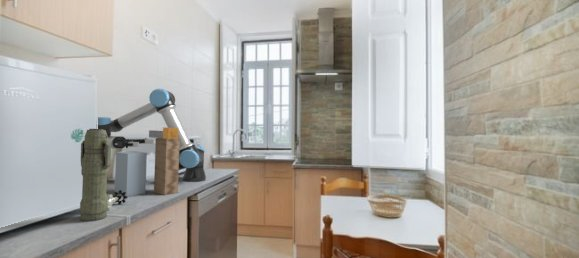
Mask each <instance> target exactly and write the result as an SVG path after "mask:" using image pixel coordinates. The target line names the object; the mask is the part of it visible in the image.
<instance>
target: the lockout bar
mask: <svg viewBox="0 0 579 258" xmlns="http://www.w3.org/2000/svg"><path fill="white" fill-rule="evenodd" d="M148 138H151V139H152V138H154V139H156V138H163V139H178V128H168V127H162V130H154V129H153V130H149V131H148Z"/></svg>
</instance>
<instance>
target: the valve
mask: <svg viewBox="0 0 579 258" xmlns="http://www.w3.org/2000/svg"><path fill="white" fill-rule="evenodd" d="M118 192H119V193H118ZM118 192H115V191H114V192H113V194H112V193H106V197H107V200H108V205H107V212H109V211H112V210H113V204H116V203H117V204H118V205H122V203H123V204H125V203H126V199H128V197H129V196H125V194H126V192H123V193H122V190H119V191H118ZM119 194H122V195H119Z"/></svg>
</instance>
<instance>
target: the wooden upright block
mask: <svg viewBox="0 0 579 258" xmlns="http://www.w3.org/2000/svg"><path fill="white" fill-rule="evenodd" d="M179 142H180V139H163V138H155V146H154V147H155V148H154V151H155V153H154V179H153V182H154V183H153V184H154V185H153V193H154V194H159V195H161V196H162V195H163V196H167V195H174V194H177V193H179V173H180V172H179V168H180V162H179Z"/></svg>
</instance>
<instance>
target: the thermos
mask: <svg viewBox="0 0 579 258" xmlns="http://www.w3.org/2000/svg"><path fill="white" fill-rule="evenodd" d="M83 139H84V140H83V141H82V142H81V143H80V167H81V175H82V192H81V200H80V202H79V214H80V219H79V220H80V221H81V222H96V221H101V220H104V219H106V218H107V214H108V213H107V212H108V211H107V205H108V200H107V197H106V194H107V187H108V185H107V183H108V182H107V181H108V180H107V179H108V178H107V177H108V174H109V167H110V166H111V152H112V148H111V144H110V142H108V136H107V133H106V130H104V129H97V128H89V129H86V131H85V135H84V138H83Z"/></svg>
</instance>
